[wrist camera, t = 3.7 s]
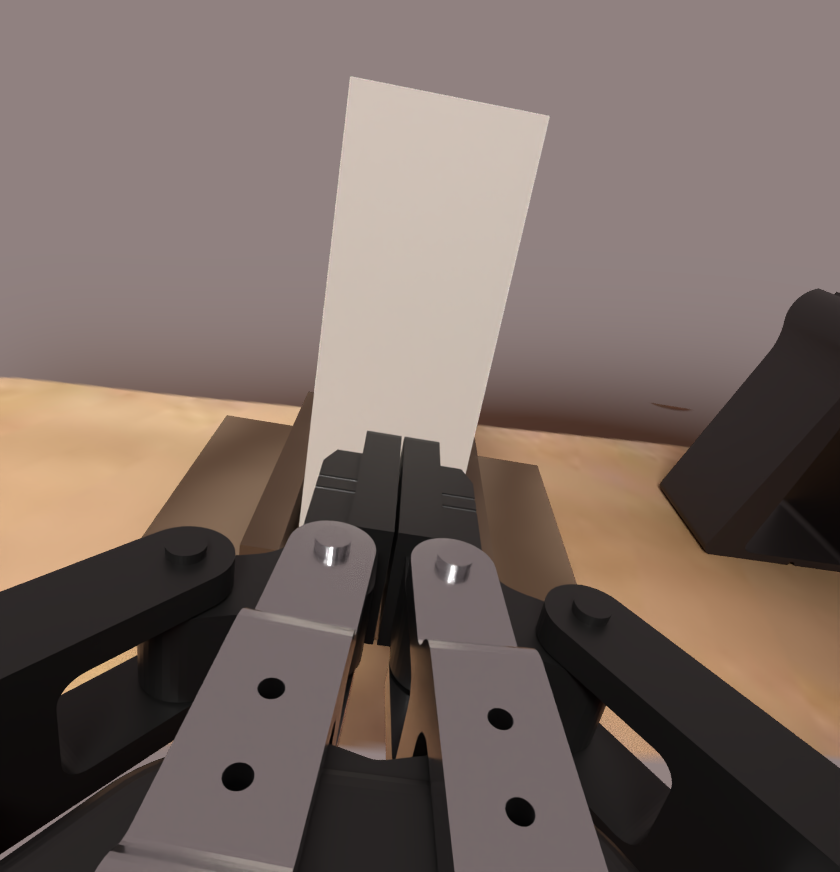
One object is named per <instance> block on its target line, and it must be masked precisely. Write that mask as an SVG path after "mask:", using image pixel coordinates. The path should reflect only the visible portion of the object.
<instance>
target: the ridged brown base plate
mask: <svg viewBox="0 0 840 872" xmlns="http://www.w3.org/2000/svg"><path fill="white" fill-rule="evenodd" d="M313 399H314V392H308V394H307V396H306V398H305V400H304V403H303V405H302V407H301V409H300V411H299V414H298V416H297V418H296V420H295V423H294V425H293V426H290V425H283V424H277V423H271V422H265V421H259V420H252V419H246V418H240V417H234V416H228V415H227V416H226V417H225V419H224V420H223V422H222V423H221V424H220V426H219V427H218V429H217V430H216V432H215V433H214V435H213V436H212V437H211V439H210V440H209V442H208V443H207V445H206V446H205V447H204V449H203V450H202V452H201V453H200V455H199V456H198V458H197V459H196V460H195V462H194V463H193V465H192V466H191V468H190V469H189V470H188V472H187V473H186V475H185V476H184V478H183V479H182V480H181V482H180V483H179V485H178V486H177V488H176V489H175V491H174V492H173V493H172V495H171V496H170V498H169V499H168V501H167V502H166V503H165V505H164V506H163V508H162V509H161V511H160V512H159V513H158V515H157V516H156V518H155V519H154V521H153V522H152V524H151V525H150V526H149V528H148V529H147V531H146V532H145V534H144V535H143V536H142V538H143V537H145V536H148V535H151V534H153V533H156V532H159V531H162V530H165V529H169V528H173V527H181V526H196V527H203V528H208V529H212V530H215V531H217V532H219V533H221V534H223V535H224V536H226V537H227V538H228V539H229V540H230V541H231V542H232V543H233V545H234V548H235V554H236V555H248V554H260V553H267V552H272V551H275V550H278V549H281V548H283V547H285V545H286V543H287V541H288V539H289V537H290V535H291V534H292V532H293V531H295V530H296V529H297V528H299V521H300V513H301V504H302V495H303V486H304V478H305V469H306V460H307V451H308V443H309V434H310V425H311V416H312V407H313ZM466 476H467V477H468V478H469V479H470V480H471V482H472V483H473V488H474V495H475V500H474V501H475V503H476V513H477V518H478V525H479V533H480V540H481V548H482V551H483V552H484V553H486V554H487V555H488V556H489V557H490V559H491V560H492V561H493V563H494V565H495V568H496V571H497V575H498V578H499V581H500V582H502V583H503V584H505V585H506V586H508V587H510V588H512V589H514V590H516V591H518V592H521V593H523V594H526V595H528V596H531V597H534V598H537V599H539V600H542V601H544V600H545V597H546V595H547V594H548V592H549V591H550V590H551V589H553V588H555V587H557V586H560V585H566V584H577V583H576V580H575V577H574V574H573V571H572V568H571V565H570V562H569V559H568V556H567V553H566V550H565V547H564V544H563V541H562V538H561V535H560V532H559V529H558V526H557V523H556V520H555V517H554V514H553V511H552V508H551V505H550V502H549V499H548V496H547V493H546V490H545V487H544V484H543V481H542V478H541V475H540V472H539V469H538V466H537V465H530V464H524V463H518V462H512V461H506V460H500V459H493V458H487V457H481V456H477V450H476V443H475V437H474V440H473V444H472V449H471V453H470V457H469V461H468V466H467V470H466ZM380 607H381V605H380ZM379 618H380V611H379V616H378V621H377V626H376V632H375V637H374V639H378V628H379Z"/></svg>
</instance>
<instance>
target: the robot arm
mask: <svg viewBox="0 0 840 872" xmlns="http://www.w3.org/2000/svg"><path fill="white" fill-rule="evenodd" d="M401 440H402V436H398V435H392V434H386V433H380V432H374V431H368V430H367V433H366V439H365V444H364V449H363V453H357V452H351V451H344V450H338V449H337V450H336V451H335V452H333V453H332V454H331V455H329V456H328V457H327V458H325V459H324V460H323V463H322V466H321V469H320V473H319V476H318V479H317V482H316V486H315V489H314V492H313V495H312V498H311V502H310V505H309V508H308V511H307V515H306V518H305V521H304V524H303V525H302V526H300V527H299V528H297V529H296V530H295V531H293V532H292V534H291V535H290V537H289V539H288V541H287V543H286V545H285V547H283V548H281V549H278V550H275V551H272V552H267V553H260V554H248V555H236V554H235V548H234V545H233V543H232V542H231V541H230V540H229V539H228V538H227V537H226V536H224V535H223V534H221V533H219V532H217V531H215V530H212V529H208V528H203V527H196V526H181V527H173V528H169V529H165V530H162V531H159V532H156V533H153V534H151V535H148V536H145V537H143V538H140V539H138V540H135V541H132V542H130V543H127V544H124V545H122V546H119V547H117V548H114V549H111V550H109V551H106V552H103V553H101V554H98V555H96V556H93V557H90V558H88V559H85V560H82V561H80V562H77V563H75V564H72V565H69V566H67V567H64V568H61V569H59V570H56V571H54V572H51V573H48V574H46V575H43V576H40V577H38V578H35V579H33V580H30V581H27V582H25V583H22V584H20V585H17V586H14V587H12V588H9V589H6V590H4V591H1V592H0V854H1V853H3V852H4V851H6V850H7V849H9V848H11V847H12V846H14V845H15V844H17V843H18V842H20V841H21V840H23V839H24V838H26V837H27V836H29V835H30V834H32V833H33V832H35V831H36V830H38V829H39V828H41V827H42V826H44V825H45V824H47V823H48V822H50V821H52V820H53V819H55V818H56V817H58V816H59V815H61V814H62V813H64V812H65V811H67V810H68V809H70V808H71V807H72V806H74V805H76V804H77V803H79V802H80V801H82V800H83V799H85V798H86V797H88V796H90V795H91V794H92V793H94V792H96V791H97V790H99V789H100V788H102V787H103V786H105V785H106V784H108V783H109V782H111V781H112V780H114V779H115V778H117V777H118V776H120V775H121V774H123V773H124V772H126V771H127V770H129V769H131V768H132V767H133V766H135V765H137V764H138V763H140V762H141V761H143V760H144V759H146V758H147V757H149V756H150V755H152V754H153V753H155V752H156V751H158V750H159V749H161V748H162V747H164V746H165V745H167V744H168V743H170V742H172V741H173V740H174V741H173V743H172V745H171V747H170V749H169V751H168V753H167V755H166V757H164V758H162V759H158V760H156V761H153V762H151V763H149V764H146V765H144V766H142V767H139V768H137V769H135V770H133V771H132V772H130V773H128V774H126V775H124V776H122V777H121V778H119V779H117V780H115V781H114V782H112V783H111V784H109V785H108V786H106V787H105V788H103V789H102V790H100V791H99V792H97V793H96V794H95V795H93V796H92V797H90V798H89V799H87V800H86V801H85V802H83V803H82V804H80V805H79V806H78V807H76V808H75V809H73V810H72V811H70V812H69V813H68V814H66V815H65V816H63V817H62V818H60V819H59V820H58V821H56V822H55V823H53V824H52V825H50V826H49V827H48V828H46V829H45V830H43V831H42V832H40V833H39V834H38V835H36V836H35V837H33V838H32V839H30V840H29V841H28V842H26V843H25V844H23V845H22V846H20V847H19V848H18V849H16V850H15V851H13V852H12V853H10V854H9V855H8V856H6V857H5V858H3V859H2V860H0V872H840V768H839V767H837V766H836V765H835V764H833V763H832V762H831V761H829V760H828V759H827V758H825V757H824V756H823V755H822V754H820V753H819V752H818V751H816V750H815V749H814V748H812V747H811V746H810V745H808V744H807V743H806V742H804V741H803V740H802V739H800V738H799V737H798V736H796V735H795V734H794V733H792V732H791V731H790V730H788V729H787V728H786V727H784V726H783V725H782V724H780V723H779V722H778V721H776V720H775V719H774V718H772V717H771V716H770V715H768V714H767V713H766V712H764V711H763V710H762V709H760V708H759V707H758V706H756V705H755V704H754V703H752V702H751V701H750V700H749V699H747V698H746V697H745V696H743V695H742V694H741V693H739V692H738V691H737V690H735V689H734V688H733V687H731V686H730V685H729V684H727V683H726V682H725V681H723V680H722V679H721V678H719V677H718V676H717V675H715V674H714V673H713V672H711V671H710V670H709V669H707V668H706V667H705V666H703V665H702V664H701V663H699V662H698V661H697V660H695V659H694V658H693V657H691V656H690V655H689V654H687V653H686V652H685V651H683V650H682V649H681V648H679V647H678V646H677V645H675V644H674V643H673V642H672V641H670V640H669V639H668V638H666V637H665V636H664V635H662V634H661V633H660V632H658V631H657V630H656V629H654V628H653V627H652V626H650V625H649V624H648V623H646V622H645V621H644V620H642V619H641V618H640V617H638V616H637V615H636V614H634V613H633V612H632V611H630V610H629V609H628V608H626V607H625V606H624V605H622V604H621V603H620V602H618V601H617V600H616V599H614V598H613V597H611V596H609V595H608V594H606V593H604V592H602V591H599V590H597V589H594V588H591V587H588V586H583V585H577V584H566V585H560V586H557V587H555V588H553V589H551V590H550V591H549V592H548V594H547V595H546V597H545V600H544V601H542V600H539V599H537V598H534V597H531V596H528V595H526V594H523V593H521V592H518V591H516V590H514V589H512V588H510V587H508V586H506V585H505V584H503V583H502V582H500V581H499V578H498V575H497V571H496V568H495V565H494V563H493V561H492V560H491V559H490V557H489V556H488V555H487V554H486V553H484V552H483V551H482V548H481V540H480V533H479V525H478V518H477V513H476V503H475V501H474V500H475V495H474V488H473V483H472V482H471V480H470V479H469V478H468V477H467V476H466V474H465V473H464V472H463V471H462V469H458V468H452V467H445V466H441V464H440V443H439V442H436V441H430V440H424V439H417V438H411V437H404V441H403V445H402V451H401ZM400 453H401V456H400ZM380 605H381V607H380ZM379 611H380V618H379V628H378V639H377V645H382V646H389V647H390V659H389V664H388V669H387V674H386V679H385V686H384V688H385V735H386V760H373V759H370V758H367V757H364V756H361V755H358V754H356V753H353V752H350V751H348V750H345V749H342V748H340V747H338V744H339V740H340V736H341V731H342V727H343V723H344V718H345V714H346V710H347V705H348V701H349V697H350V692H351V688H352V684H353V678H354V673H355V669H356V668H357V667H358V665H359V663H360V661H361V656H362V651H363V645H364V643H366V644H373V642H374V637H375V632H376V626H377V621H378V616H379ZM135 646H137V656H135V657H133V658H131V659H129V660H127V661H125V662H123V663H121V664H120V665H118V666H116V667H114V668H112V669H110V670H108V671H106V672H104V673H102V674H100V675H99V676H97V677H95V678H93V679H91V680H89V681H87V682H85V683H83V684H81V685H79V686H78V687H76V688H74V689H72V690H70V691H68V692H66V693H64V694H62V692H63V691H64V690H65V688H66V687H67V686H68V685H69V684H70V683H71V682H72V681H73V680H74V679H76V678H77V677H78V676H80V675H81V674H83V673H85V672H87V671H88V670H90V669H92V668H94V667H96V666H98V665H100V664H102V663H104V662H106V661H108V660H110V659H112V658H114V657H116V656H118V655H120V654H122V653H124V652H126V651H128V650H129V649H131V648H133V647H135ZM61 694H62V695H61ZM606 706H607V707H609V708H610V709H611V710H612V711H613V712H614V713H615V714H616V715H617V716H619V717H620V718H621V719H622V720H623V721H624V722H625V723H626V724H627V725H629V726H630V727H631V728H632V729H633V730H634V731H635V732H636V733H637V734H639V735H640V736H641V737H642V738H643V739H644V740H645V741H646V742H647V743H649V744H650V745H651V746H652V747H653V748H654V749H655V750H656V751H657V752H658V753H659V754H660V755H661V756H662V758H663V759H664V761H665V762H666V764H667V766H668V768H669V770H670V773H671V778H672V787H671V789H670V788H669V787H667V786H666V785H665V784H664V783H663V782H662V781H661V780H660V779H659V778H658V777H657V776H656V775H655V774H654V773H652V772H651V771H650V770H649V769H648V768H647V767H646V766H645V765H644V764H643V763H642V762H641V761H640V760H639V759H637V758H636V757H635V756H634V755H633V754H632V753H631V752H630V751H629V750H628V749H627V748H626V747H625V746H623V745H622V744H621V743H620V742H619V741H618V740H617V739H616V738H615V737H614V736H613V735H612V734H611V733H610V732H608V731H607V730H606V729H605V728H604V727H603V726H602V725H601V724H600V723H599V721H600V719H601V716H602V714H603V712H604V709H605V707H606Z"/></svg>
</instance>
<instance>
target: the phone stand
mask: <svg viewBox="0 0 840 872" xmlns="http://www.w3.org/2000/svg"><path fill="white" fill-rule="evenodd" d="M660 488H661V489H662V491H663V492H664V494H665V495H666V496H667V498H668V499H669V501H670V502H671V503H672V505H673V506H674V508H675V509H676V510H677V512H678V513H679V515H680V516H681V518H682V519H683V520H684V522H685V523H686V525H687V526H688V527H689V529H690V530H691V532H692V533H693V534H694V536H695V537H696V539H697V540H698V541H699V543H700V544H701V546H702V547H703V548H704V550H705V551H706V553H708V554H713V555H720V556H727V557H735V558H742V559H749V560H757V561H764V562H771V563H778V564H786V565H787V564H788V563H790V562H792V564H793V565H794V566H800V567H808V568H815V569H822V570H829V571H837V572H840V293H838V292H836V293H835V294H831V293H829V292H826V291H824V290H821V289H815V290H812V291H809V292H807V293H805V294H804V295H802V296H801V297H799V298H798V299H797V300H796V301H795V302H794V303H793V305H792V306H791V307H790V309H789V310H788V312H787V314H786V317H785V321H784V325H783V328H782V331H781V333H780V336H779V338H778V340H777V341H776V343H775V345H774V347H773V348H772V349H771V351H770V352H769V353H768V354H767V355H766V357H765V358H764V359H763V360H762V361H761V363H760V364H759V365H758V366H757V367H756V369H755V370H754V371H753V372H752V373H751V375H750V376H749V377H748V378H747V379H746V381H745V382H744V383H743V384H742V385H741V387H740V388H739V389H738V390H737V391H736V393H735V394H734V395H733V396H732V398H731V399H730V400H729V401H728V402H727V404H726V405H725V406H724V407H723V408H722V409H721V411H720V412H719V413H718V414H717V415H716V417H715V418H714V419H713V420H712V422H711V423H710V424H709V425H708V426H707V428H706V429H705V430H704V431H703V432H702V434H701V435H700V436H699V437H698V438H697V440H696V441H695V442H694V443H693V444H692V446H691V447H690V448H689V449H688V450H687V452H686V453H685V454H684V455H683V456H682V458H681V459H680V460H679V461H678V462H677V464H676V465H675V466H674V467H673V468H672V470H671V471H670V472H669V473H668V474H667V476H666V477H665V478H664V479H663V480H662V482H661V483H660Z"/></svg>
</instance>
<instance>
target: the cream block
mask: <svg viewBox="0 0 840 872" xmlns="http://www.w3.org/2000/svg"><path fill="white" fill-rule="evenodd" d="M549 117H550V116H547V115H542V114H537V113H531V112H527V111H522V110H517V109H512V108H507V107H502V106H497V105H492V104H487V103H482V102H477V101H472V100H467V99H462V98H457V97H452V96H447V95H442V94H437V93H432V92H427V91H422V90H416V89H412V88H407V87H402V86H397V85H392V84H387V83H382V82H377V81H371V80H367V79H362V78H357V77H350V83H349V92H348V101H347V110H346V119H345V127H344V136H343V145H342V153H341V162H340V172H339V180H338V188H337V197H336V206H335V215H334V224H333V232H332V241H331V250H330V258H329V267H328V276H327V285H326V294H325V302H324V311H323V321H322V329H321V337H320V346H319V355H318V364H317V373H316V382H315V390H314V399H313V407H312V416H311V425H310V434H309V443H308V451H307V460H306V469H305V478H304V486H303V495H302V504H301V513H300V521H299V527H300V526H302V525H303V524H304V521H305V518H306V515H307V511H308V508H309V505H310V502H311V498H312V495H313V492H314V489H315V486H316V482H317V479H318V476H319V473H320V469H321V466H322V463H323V460H324V459H325V458H327V457H328V456H329V455H331V454H332V453H333V452H335V451H336V450H337V449H338V450H344V451H351V452H357V453H363V449H364V444H365V439H366V433H367V430H368V431H374V432H380V433H386V434H392V435H398V436H402V440H401V451H402V445H403V441H404V437H411V438H417V439H424V440H430V441H436V442H439V443H440V464H441V466H445V467H452V468H458V469H462V471H463V472H464V473H465V474H466V470H467V466H468V461H469V457H470V453H471V449H472V444H473V440H474V436H475V432H476V427H477V423H478V419H479V415H480V410H481V406H482V402H483V398H484V393H485V389H486V385H487V381H488V376H489V372H490V368H491V363H492V359H493V355H494V351H495V347H496V342H497V338H498V334H499V329H500V325H501V321H502V317H503V312H504V308H505V304H506V300H507V295H508V291H509V287H510V283H511V279H512V274H513V270H514V266H515V262H516V258H517V253H518V249H519V244H520V240H521V236H522V232H523V228H524V224H525V219H526V215H527V211H528V207H529V202H530V198H531V194H532V190H533V185H534V181H535V177H536V173H537V168H538V164H539V160H540V155H541V151H542V147H543V143H544V138H545V134H546V130H547V125H548V122H549ZM400 456H401V453H400Z"/></svg>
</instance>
